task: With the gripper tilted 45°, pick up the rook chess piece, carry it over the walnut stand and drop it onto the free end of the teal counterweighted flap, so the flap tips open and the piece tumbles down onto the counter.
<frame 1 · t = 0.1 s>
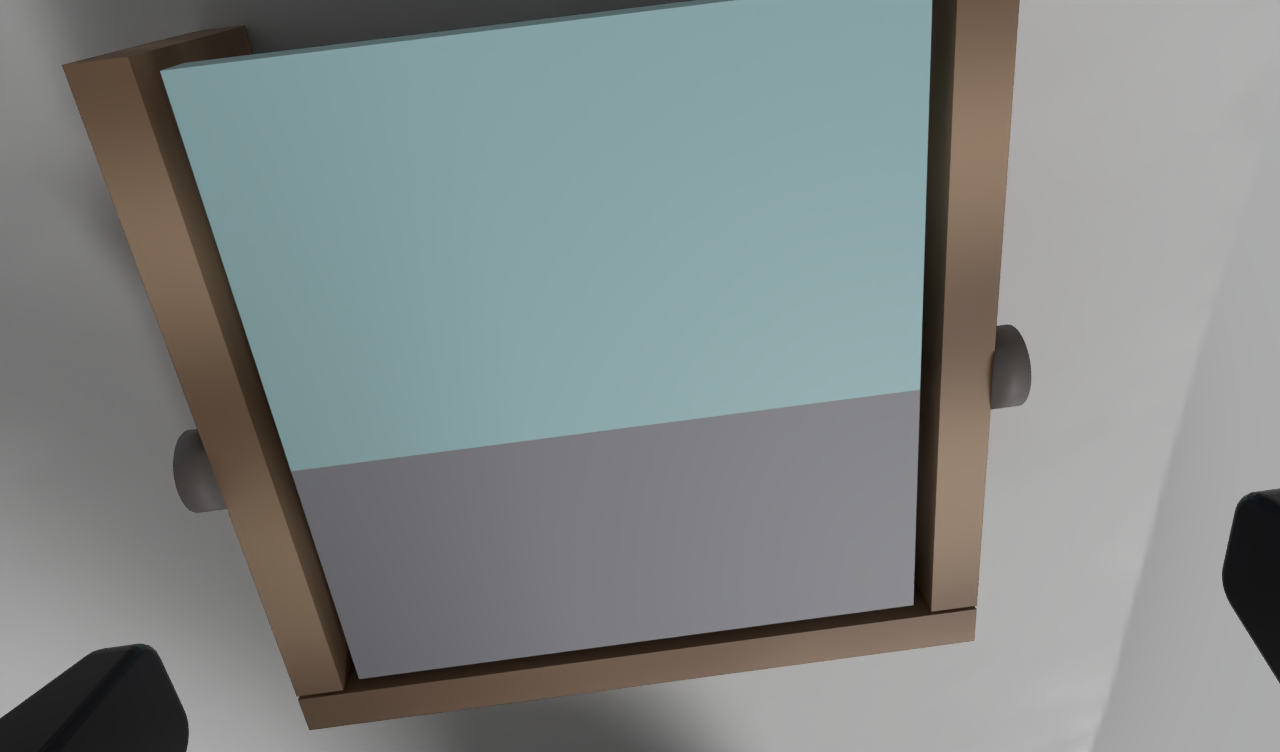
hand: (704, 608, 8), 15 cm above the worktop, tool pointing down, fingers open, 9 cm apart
trapdoor flap: (599, 361, 18), point 5 cm above the worktop, hinge at 0.0°
walnut stand: (598, 320, 22), on the worktop
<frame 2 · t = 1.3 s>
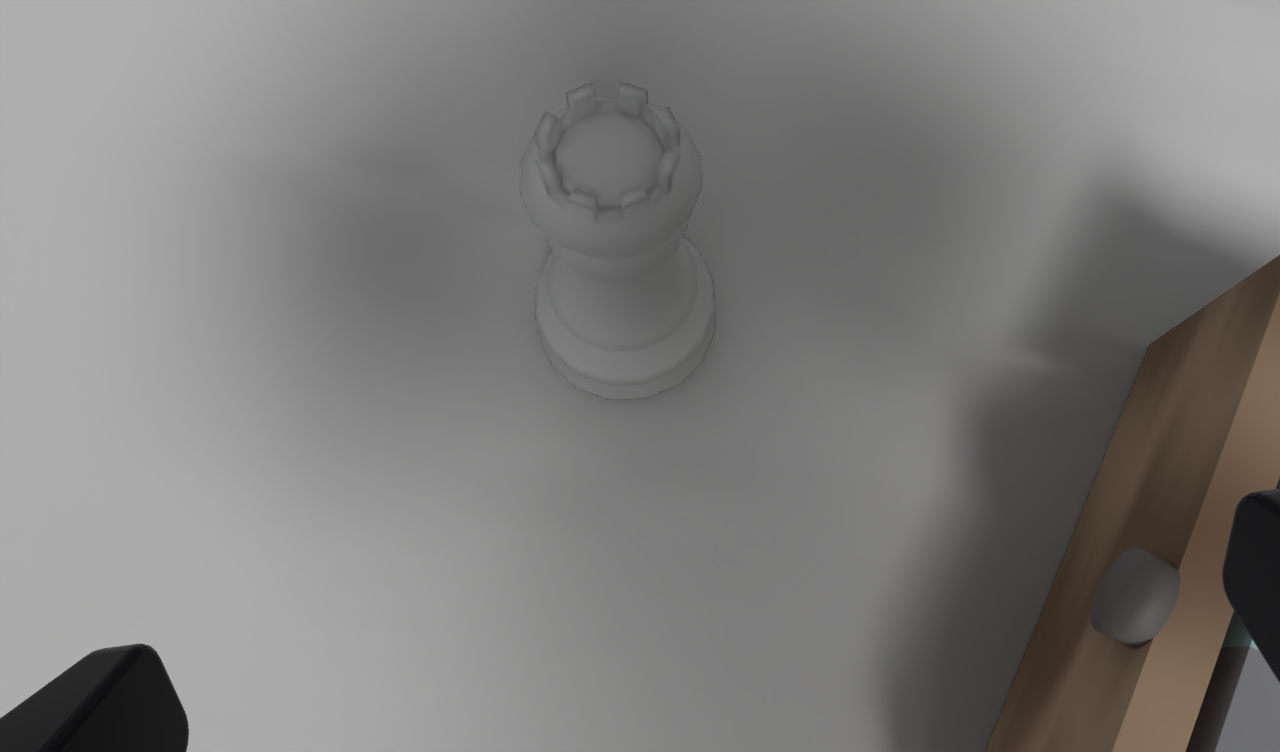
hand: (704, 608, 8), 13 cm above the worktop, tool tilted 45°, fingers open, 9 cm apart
rook chess piece: (627, 324, 23), on the worktop
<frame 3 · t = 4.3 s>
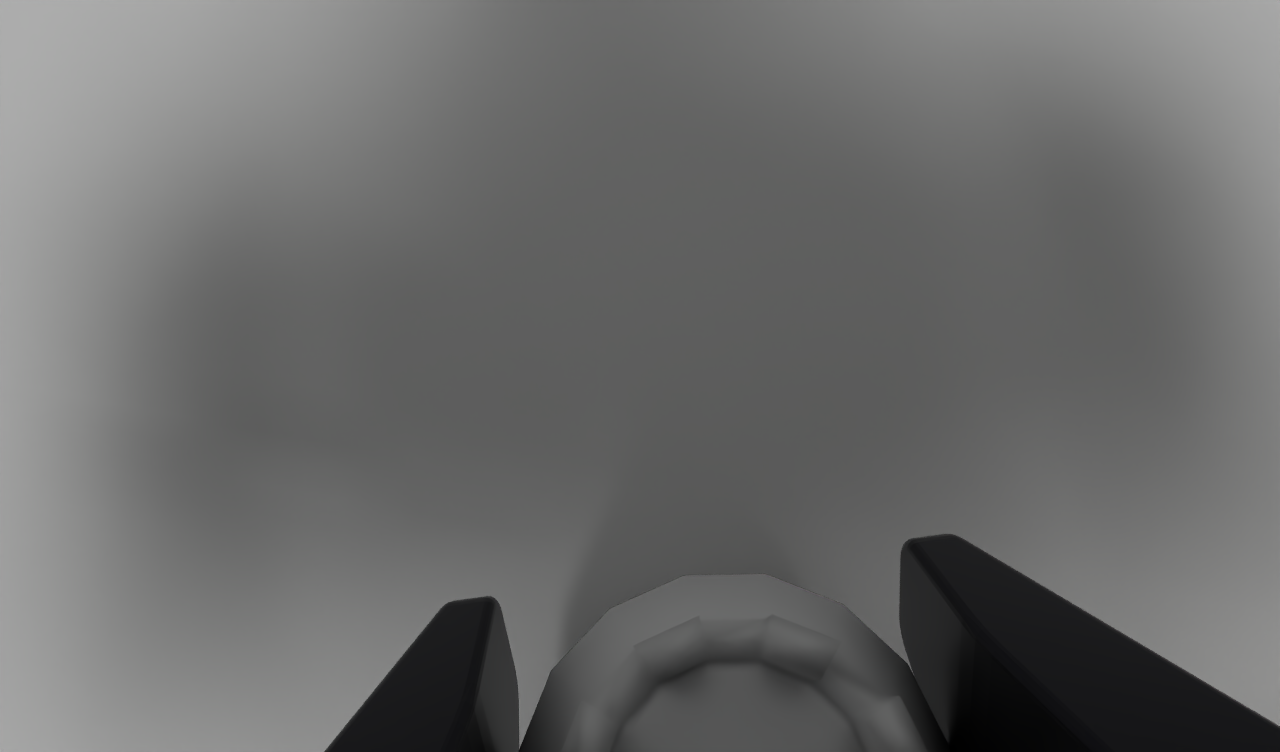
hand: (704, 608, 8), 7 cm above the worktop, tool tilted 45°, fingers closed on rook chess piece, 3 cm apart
rook chess piece: (700, 738, 14), on the worktop, touching gripper
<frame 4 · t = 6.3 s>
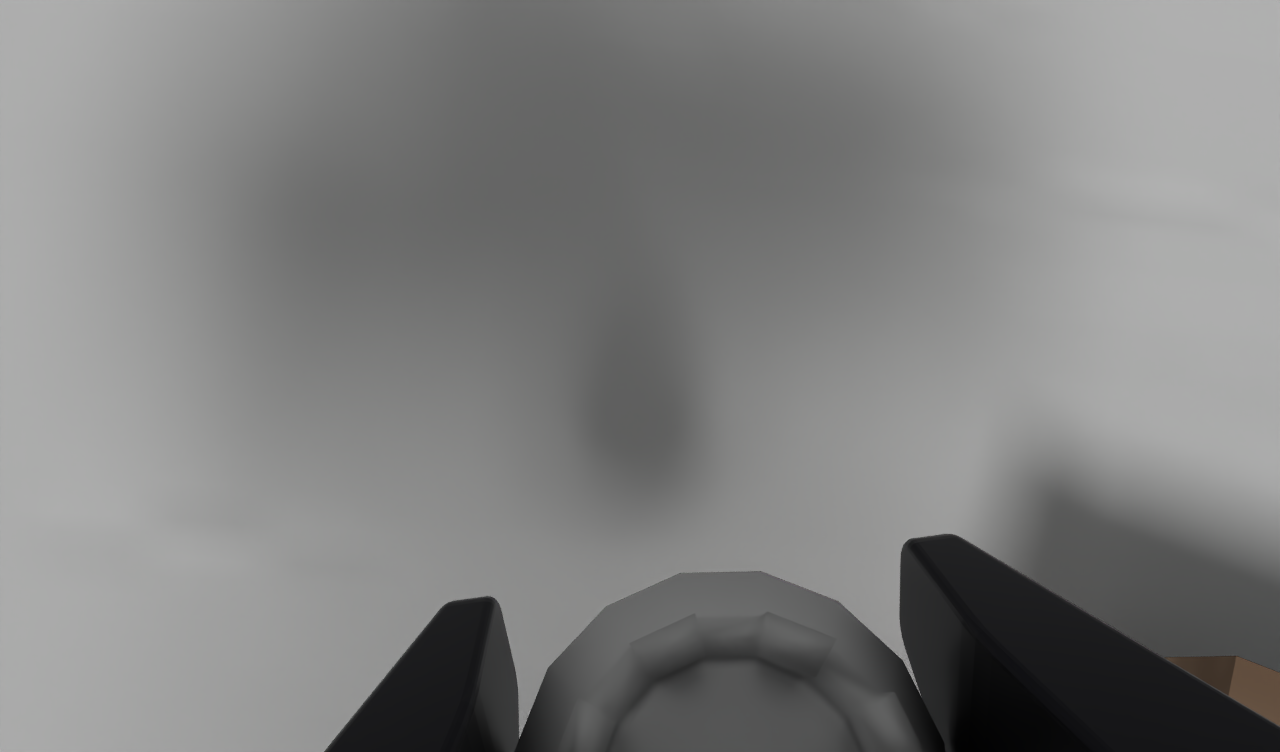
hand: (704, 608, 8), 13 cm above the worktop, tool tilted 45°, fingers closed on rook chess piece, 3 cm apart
rook chess piece: (697, 735, 14), point 6 cm above the worktop, touching gripper
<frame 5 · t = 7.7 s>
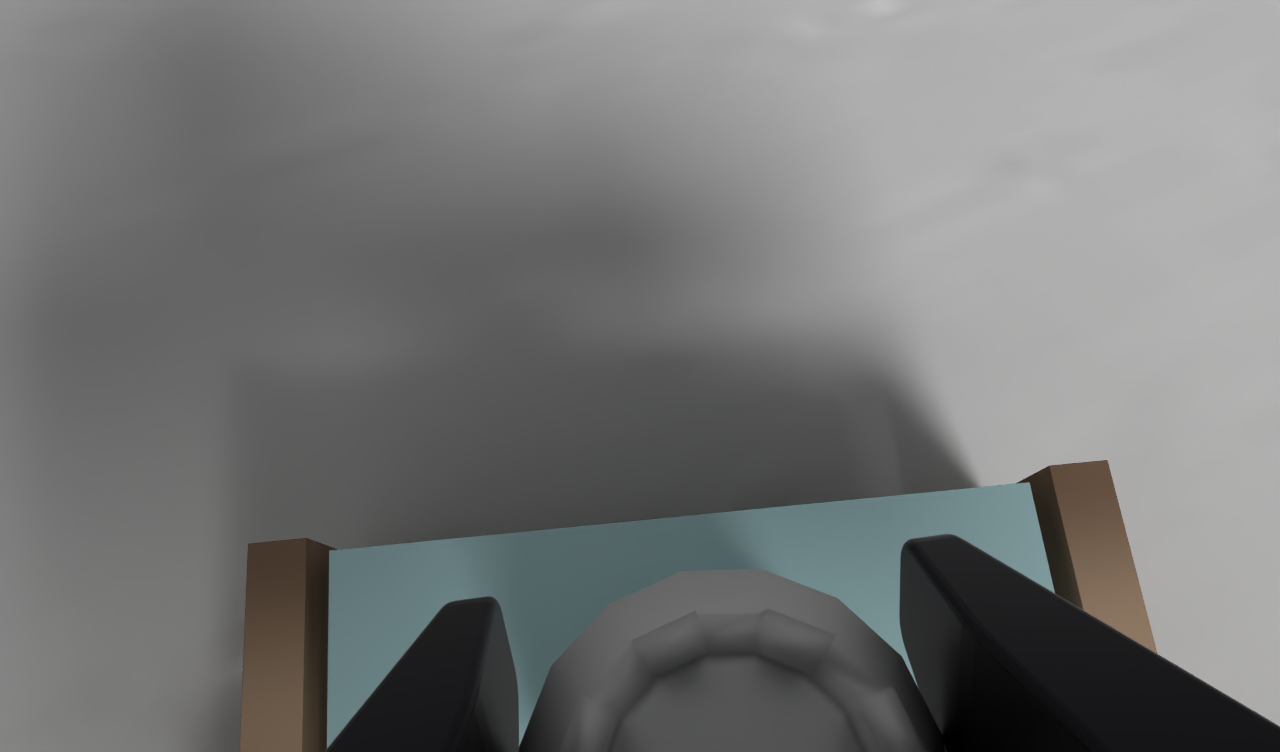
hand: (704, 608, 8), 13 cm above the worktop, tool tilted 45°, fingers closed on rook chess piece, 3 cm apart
rook chess piece: (699, 732, 14), point 6 cm above the worktop, touching gripper
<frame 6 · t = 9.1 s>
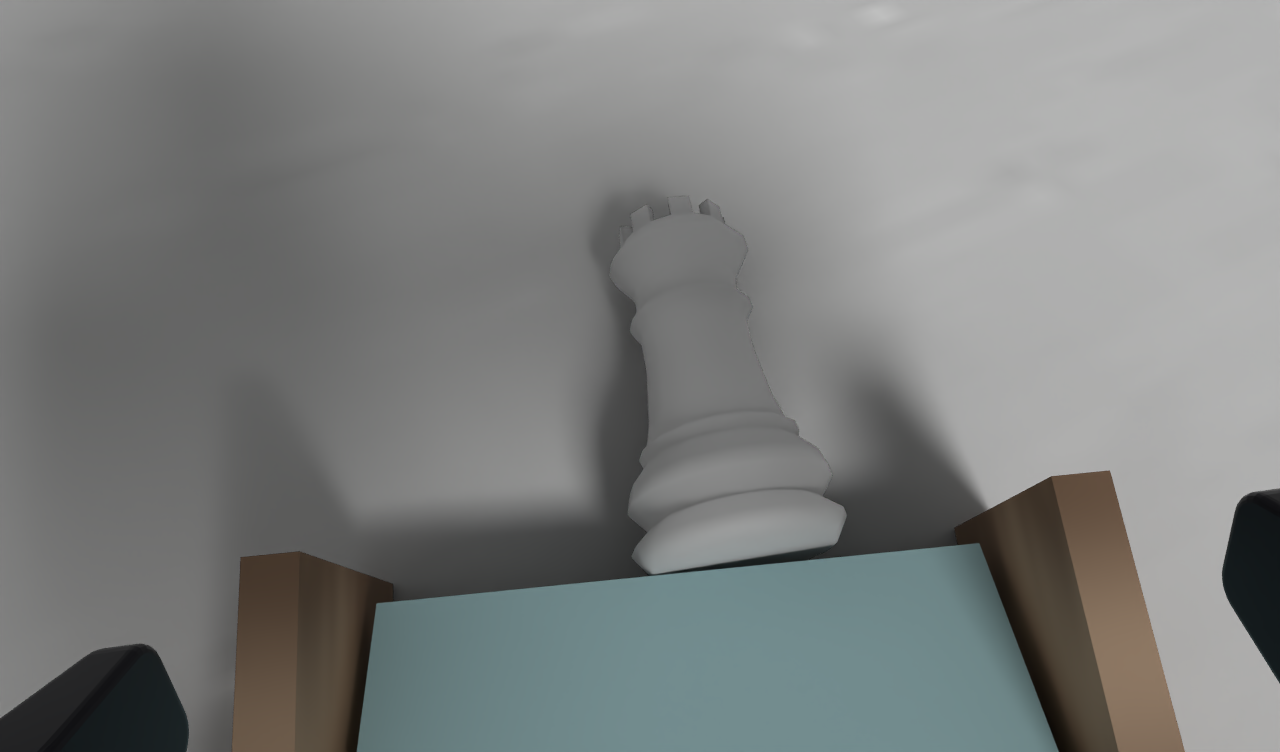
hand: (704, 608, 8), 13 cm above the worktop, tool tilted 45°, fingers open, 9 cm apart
rook chess piece: (746, 569, 18), point 2 cm above the worktop, touching trapdoor flap
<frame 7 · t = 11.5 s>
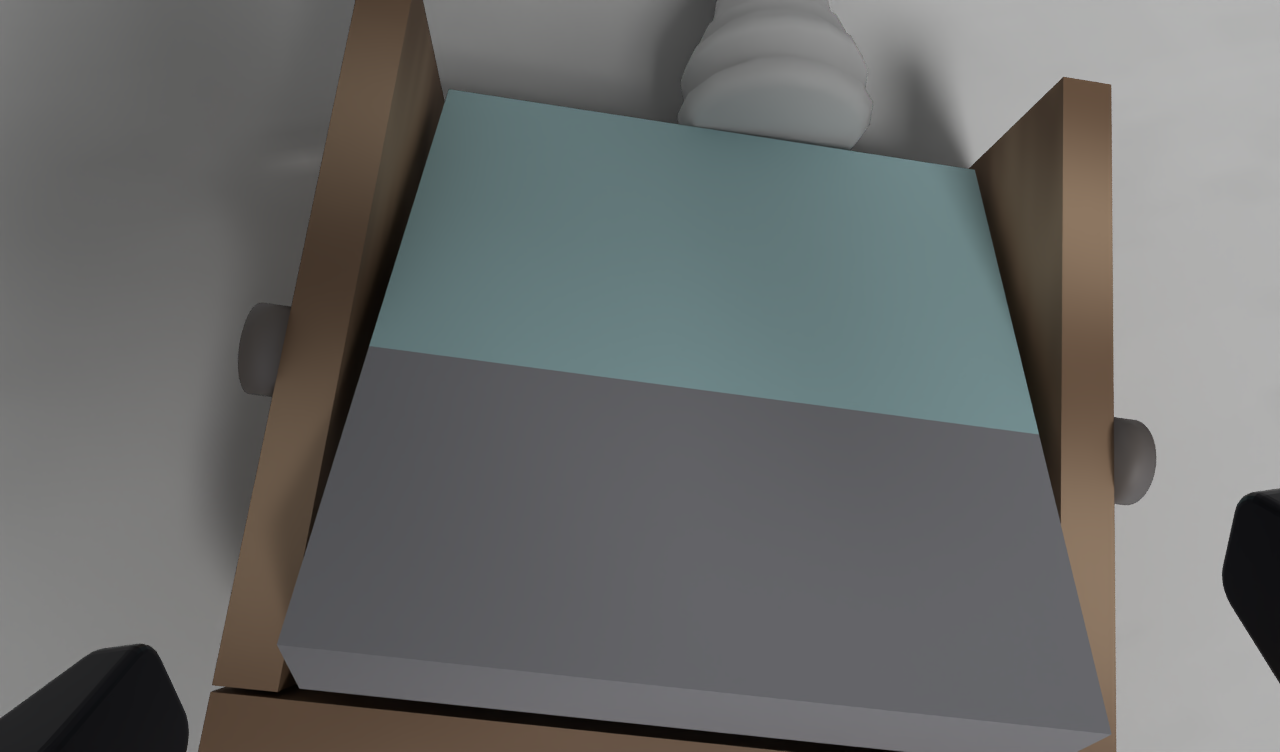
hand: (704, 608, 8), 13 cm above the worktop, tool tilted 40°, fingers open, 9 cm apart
rook chess piece: (774, 146, 21), point 2 cm above the worktop, touching trapdoor flap
trapdoor flap: (703, 377, 17), point 4 cm above the worktop, hinge at -23.8°, touching rook chess piece
walnut stand: (670, 446, 21), on the worktop
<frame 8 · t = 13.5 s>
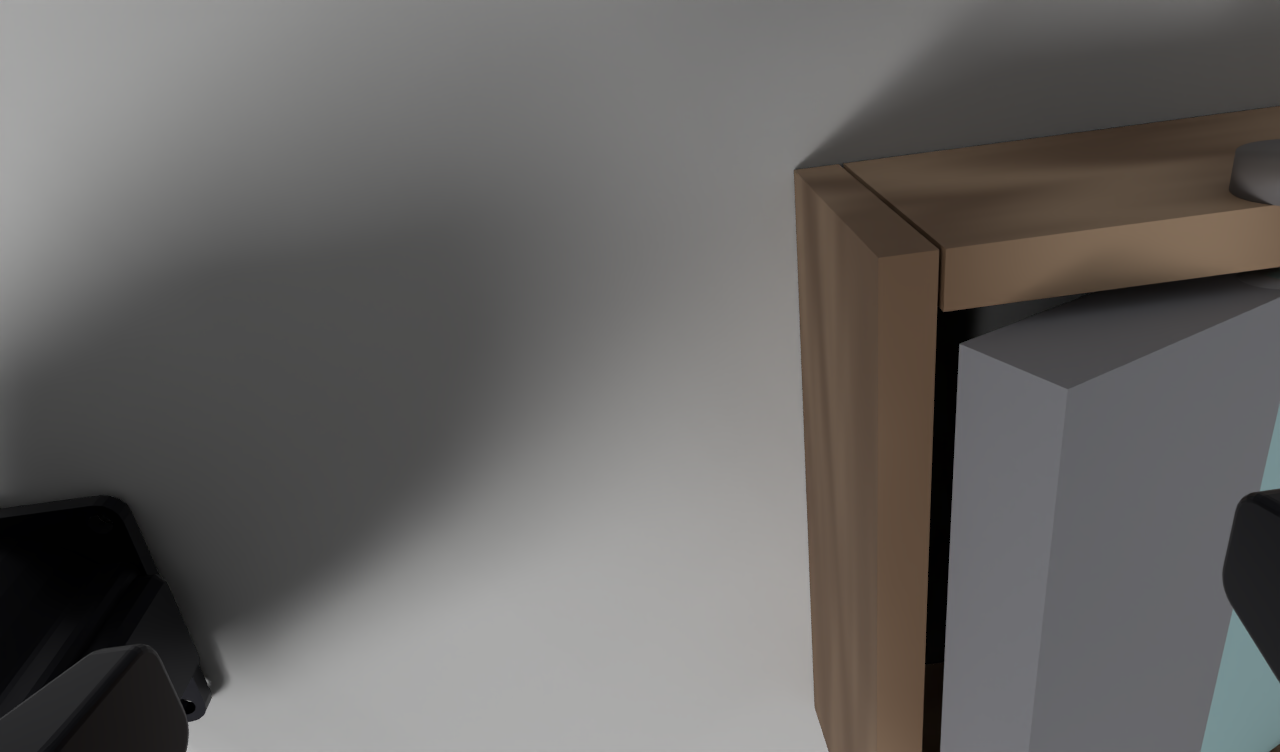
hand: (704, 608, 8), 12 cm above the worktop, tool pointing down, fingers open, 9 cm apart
trapdoor flap: (1220, 545, 18), point 4 cm above the worktop, hinge at -23.8°, touching rook chess piece
walnut stand: (1076, 442, 22), on the worktop
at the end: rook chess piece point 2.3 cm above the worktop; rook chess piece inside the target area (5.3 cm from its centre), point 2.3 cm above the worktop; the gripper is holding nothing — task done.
